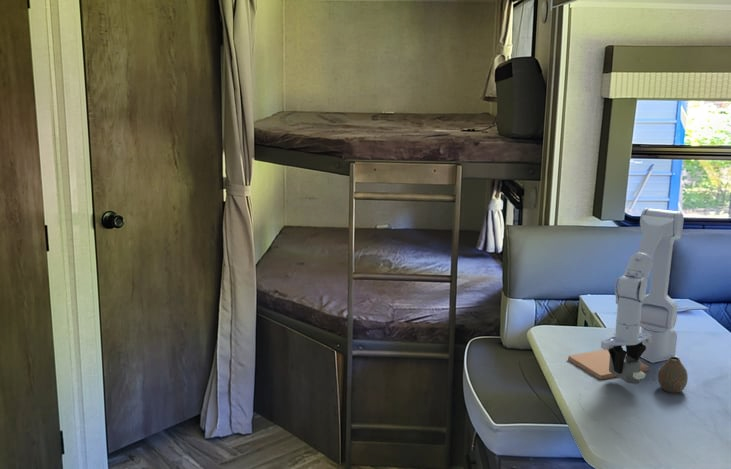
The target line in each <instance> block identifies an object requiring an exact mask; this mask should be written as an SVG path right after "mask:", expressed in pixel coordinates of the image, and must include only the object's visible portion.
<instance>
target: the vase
mask: <svg viewBox="0 0 731 469" xmlns="http://www.w3.org/2000/svg"><path fill="white" fill-rule="evenodd" d="M657 377H658V378H657V379H658V383H659V386H660V388H662V389H663V390H664V391H665V392H668V393H671V394H678V393H680V392H682V391H683V390H684V389H685V388H686V386H687V385H688V372H687V369H686V367H685V366H684V364H683V363H682V361H681V359H680V357H678V356H677V357H670V358H669V359H668V360H665V361H664V363H663V364H662V365H661V366H660V367H659V370H658V373H657Z"/></svg>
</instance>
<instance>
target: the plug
mask: <svg viewBox="0 0 731 469" xmlns="http://www.w3.org/2000/svg"><path fill="white" fill-rule="evenodd" d="M640 362H641V361H640ZM640 362H639V360H638V361H637V360H635V359H633V358H632V357H630V356H628V355H626V356H625V359H624V362H623V369H622V373H620V374H619V373H617V372H615V371H614V367H613V362H612V359H611V356H610V360H609V372H611V373H612V374H614V375H616V376H617V377H618V378H619V379H621V380H623V381H625V382H626V383H629V384H632V385H634V384H635V385H636V384H639V383H640V380H641V379H646V373H645V372H644V371H640V369H641V363H640ZM617 377H616V378H617Z"/></svg>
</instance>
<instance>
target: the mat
mask: <svg viewBox="0 0 731 469" xmlns="http://www.w3.org/2000/svg"><path fill="white" fill-rule="evenodd" d="M626 355H627V354H626ZM609 360H610V353H609V351H608V350H605V349H603V348H602V349H599V350H593V351H587V352H581V353H577V354H570V355H568V361H570V362H571V363H573V364H575V365H576V366H578V367H579V368H581V369H582V370H584V371H586V372H587V373H589V374H591V375H592V376H594V377H596V378H598V380H606V379H610V378H615V377H616V378H617V376H616V375H614V374H612V373H611V372H609ZM638 361H639V360H638ZM639 362H640V363H641V369H640V371H642V372H646V371H649V365H647V364H645V363H643V362H642V361H639Z"/></svg>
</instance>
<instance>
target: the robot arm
mask: <svg viewBox="0 0 731 469" xmlns="http://www.w3.org/2000/svg"><path fill="white" fill-rule="evenodd" d="M684 219H685V218H684V215H683V213H682V211H680V210H677V211H674V210H668V209H667V210H666V209H657V208H649V207H645V208H644V209H643V210H642V212H641V214H640V219H639V226H640V229H641V233H642V236H641V239H640V243H639V246H638V250H637V252H635V253H633V254H631V256H630V258H629V261H628V263H627V266H626V268H625V270H624V273H623V275H622V276H619V277H618V278H617V279H616V282H615V285H614V286H615V287H614V295H615V304H616V306H617V308H616V319H615V320H616V322H615V332H613V336H611V337H608V338H605V339H603V340H601V342H600V349H602V350H603V349H605V350H608V351H609V353H610V356H611V359H612V362H613V367H614V371H615V372H617V373H619V374H620V373H622V369H623V362H624V359H625V356H626V354H627V355H628V356H630V357H632V358H633V359H635V360H637V361H639V360H640V358H642V359H643V360H646V361H647V362H649V363H651V364H654V363H659V362H666V361H667V360H668V359H669V358H670V357H678V356H677V355H676V352H677V351H676V350H677V342H678V340H677V339H678V333H677V331H676V329H675V326H676V323H677V320H678V312H677V309H678V307H677V303H676V301H675V300H673V299H672V298H671V297H670V296H669V295H668V290H669V282H670V272H671V265H672V257H673V250H674V249H673V248H674V244H675V241H676V240H680V239H681V238H682V234H683V228H684V221H685V220H684ZM649 276H650V284H649V280H648V279H649ZM648 285H649V289H648ZM647 289H648V290H649V291H648V293H647ZM640 328H641V331H640ZM623 347H625V349H624V348H623Z"/></svg>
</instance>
